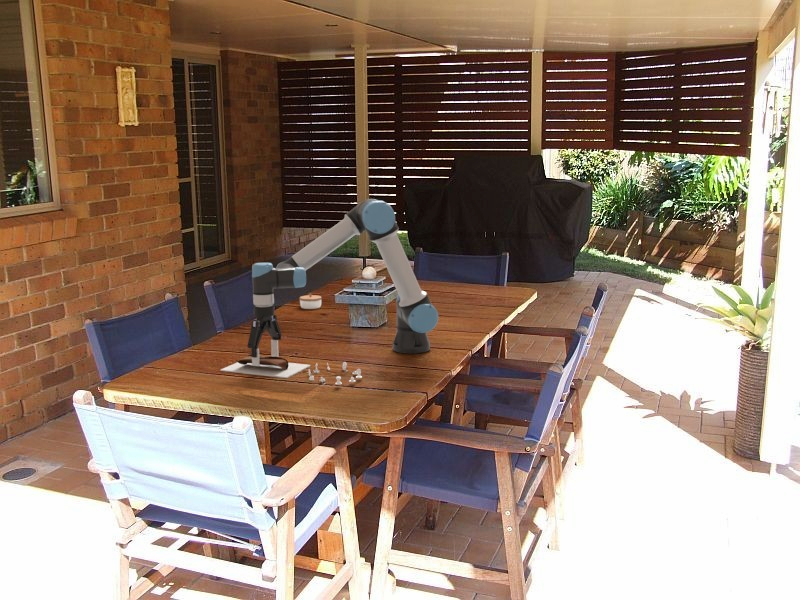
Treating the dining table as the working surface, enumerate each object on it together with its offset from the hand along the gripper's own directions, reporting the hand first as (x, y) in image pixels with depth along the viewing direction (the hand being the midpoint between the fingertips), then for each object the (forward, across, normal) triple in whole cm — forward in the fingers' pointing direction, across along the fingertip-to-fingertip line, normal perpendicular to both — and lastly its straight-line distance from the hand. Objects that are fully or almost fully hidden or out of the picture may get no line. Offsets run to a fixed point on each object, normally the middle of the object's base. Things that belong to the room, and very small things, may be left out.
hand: (265, 361), depth 312 cm
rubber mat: (+3, 0, 0) cm, 3 cm away
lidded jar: (+3, -99, -34) cm, 105 cm away
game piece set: (+3, 0, +28) cm, 28 cm away
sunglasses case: (+2, +5, 0) cm, 5 cm away
